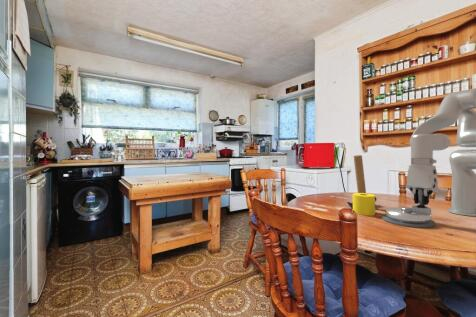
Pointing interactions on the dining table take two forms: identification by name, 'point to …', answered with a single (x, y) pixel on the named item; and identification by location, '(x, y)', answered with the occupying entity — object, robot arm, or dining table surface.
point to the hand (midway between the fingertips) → (421, 203)
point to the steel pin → (420, 197)
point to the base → (409, 223)
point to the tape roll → (364, 204)
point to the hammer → (359, 176)
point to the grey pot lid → (409, 214)
